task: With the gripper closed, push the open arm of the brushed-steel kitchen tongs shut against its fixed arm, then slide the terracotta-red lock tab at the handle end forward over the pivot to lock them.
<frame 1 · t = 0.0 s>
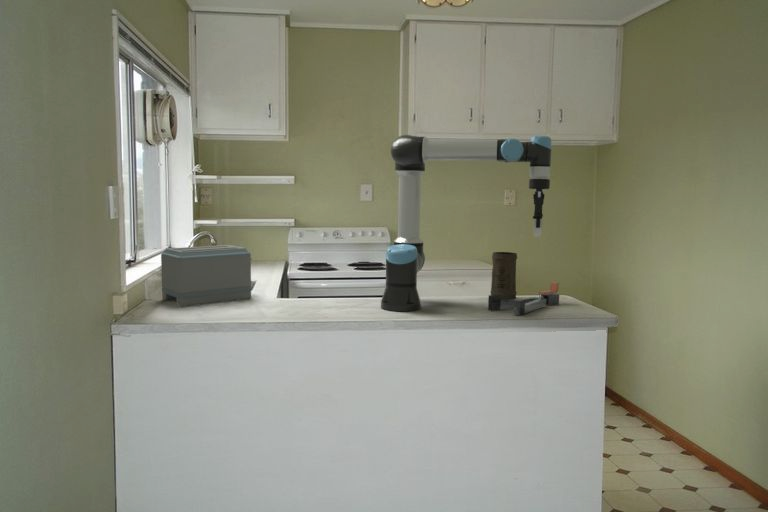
hand: (537, 235, 237), 28 cm above the countertop, fingers open, 13 cm apart
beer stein: (503, 300, 259), on the countertop
lock tab: (548, 288, 249), point 6 cm above the countertop, slide at 0.0 cm
tong arm: (530, 303, 236), point 3 cm above the countertop, hinge at 20.0°
toaster: (211, 299, 251), on the countertop
tongs base: (541, 305, 247), on the countertop
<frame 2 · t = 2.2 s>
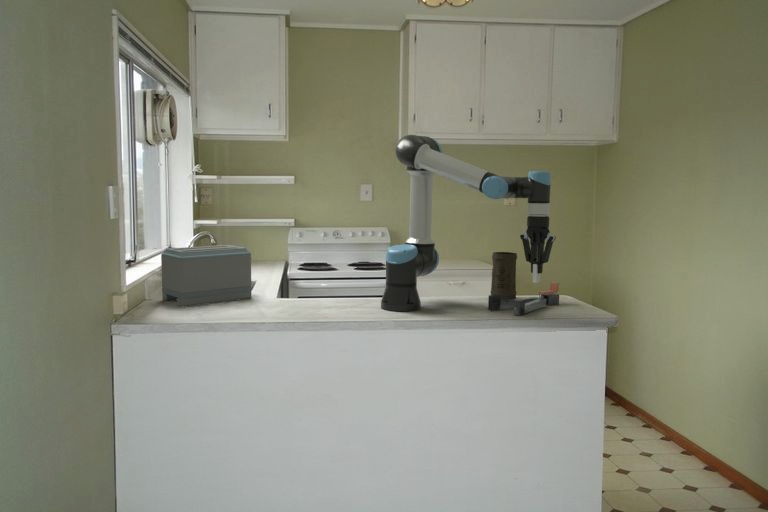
hand: (536, 282, 223), 13 cm above the countertop, fingers closed
nothing on the countertop moved.
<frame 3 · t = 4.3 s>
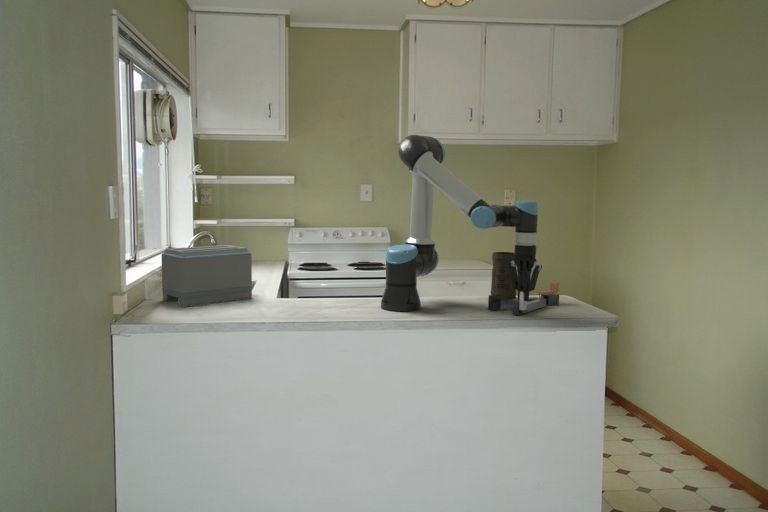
hand: (522, 309, 227), 2 cm above the countertop, fingers closed
tong arm: (530, 303, 236), point 3 cm above the countertop, hinge at 18.7°, touching gripper
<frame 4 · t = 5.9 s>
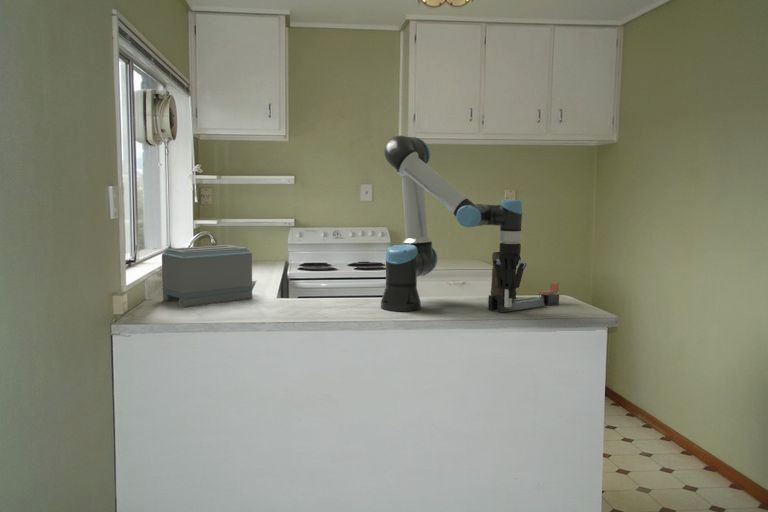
hand: (507, 306, 231), 2 cm above the countertop, fingers closed
tong arm: (521, 301, 238), point 3 cm above the countertop, hinge at 3.3°, touching gripper
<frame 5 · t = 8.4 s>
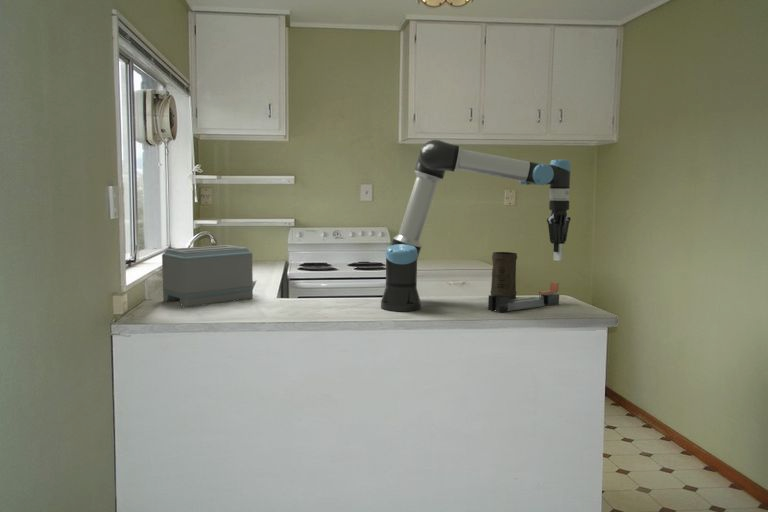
hand: (557, 260, 248), 18 cm above the countertop, fingers closed
tong arm: (520, 301, 238), point 3 cm above the countertop, hinge at 1.4°
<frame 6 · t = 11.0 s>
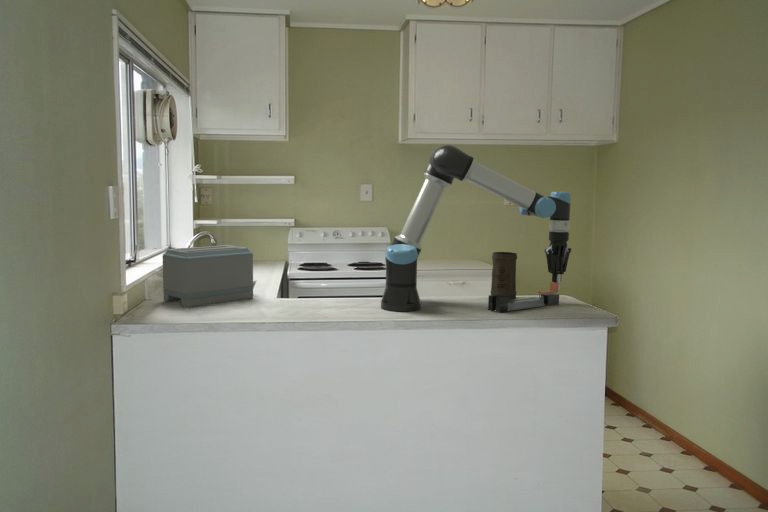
hand: (556, 290, 251), 5 cm above the countertop, fingers closed
lock tab: (548, 288, 249), point 6 cm above the countertop, slide at 0.1 cm, touching gripper
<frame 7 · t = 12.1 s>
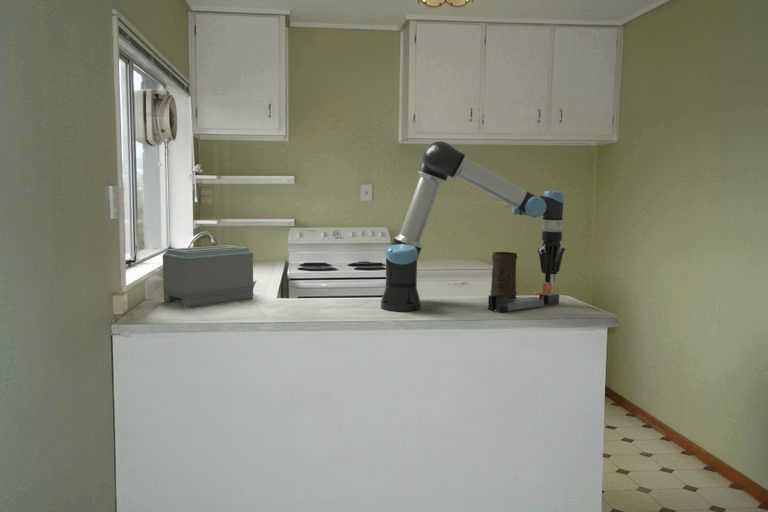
hand: (549, 290, 249), 6 cm above the countertop, fingers closed
lock tab: (541, 288, 246), point 6 cm above the countertop, slide at 3.9 cm, touching gripper
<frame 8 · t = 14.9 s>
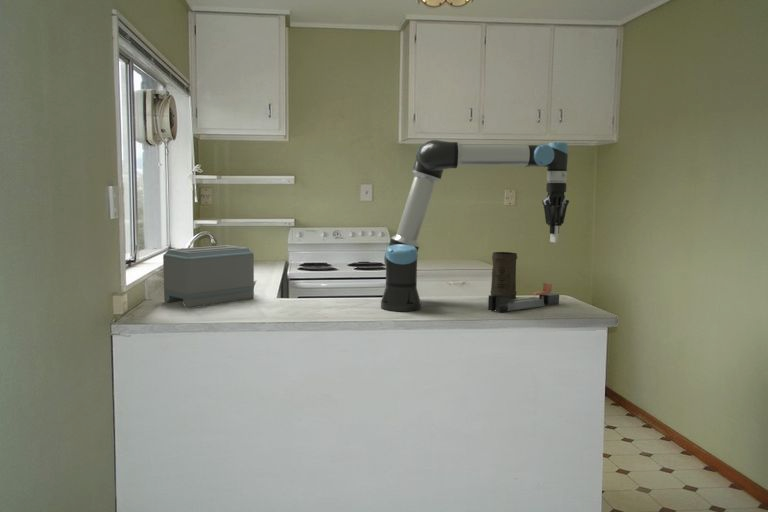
hand: (553, 242, 251), 24 cm above the countertop, fingers closed
lock tab: (541, 288, 246), point 6 cm above the countertop, slide at 3.9 cm
at the end: tong arm at +1° (first picture: +20°); lock tab slide at 3.9 cm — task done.
